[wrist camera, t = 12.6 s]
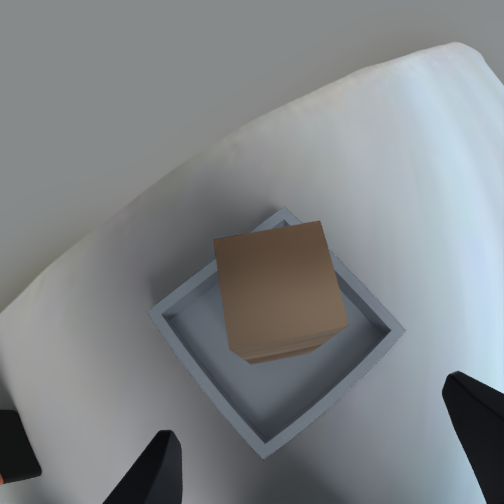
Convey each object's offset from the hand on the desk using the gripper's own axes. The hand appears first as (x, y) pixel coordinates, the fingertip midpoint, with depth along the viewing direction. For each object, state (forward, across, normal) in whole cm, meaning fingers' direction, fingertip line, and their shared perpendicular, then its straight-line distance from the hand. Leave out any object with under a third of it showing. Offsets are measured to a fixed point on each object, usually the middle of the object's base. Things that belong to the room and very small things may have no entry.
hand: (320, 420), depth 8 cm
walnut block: (+12, 0, +5) cm, 13 cm away
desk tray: (+12, 0, +6) cm, 14 cm away
